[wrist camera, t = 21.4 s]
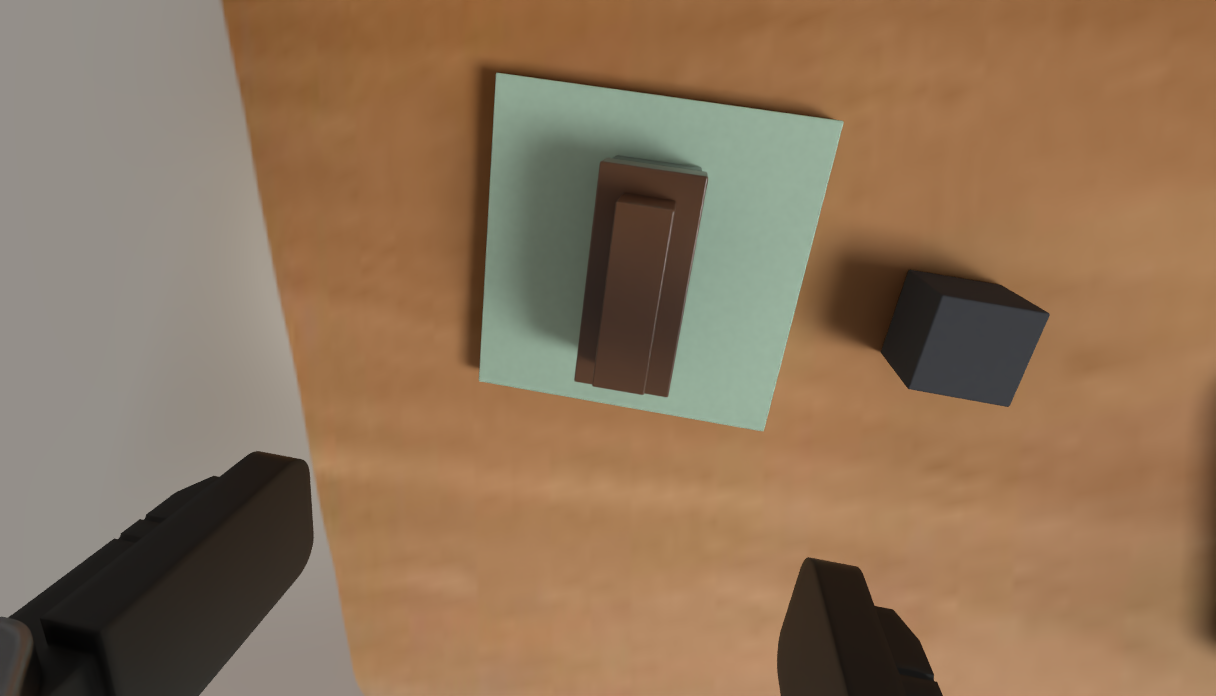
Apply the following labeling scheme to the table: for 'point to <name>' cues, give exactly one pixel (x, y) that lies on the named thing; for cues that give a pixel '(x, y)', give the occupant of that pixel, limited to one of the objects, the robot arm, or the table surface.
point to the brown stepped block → (638, 273)
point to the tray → (724, 256)
